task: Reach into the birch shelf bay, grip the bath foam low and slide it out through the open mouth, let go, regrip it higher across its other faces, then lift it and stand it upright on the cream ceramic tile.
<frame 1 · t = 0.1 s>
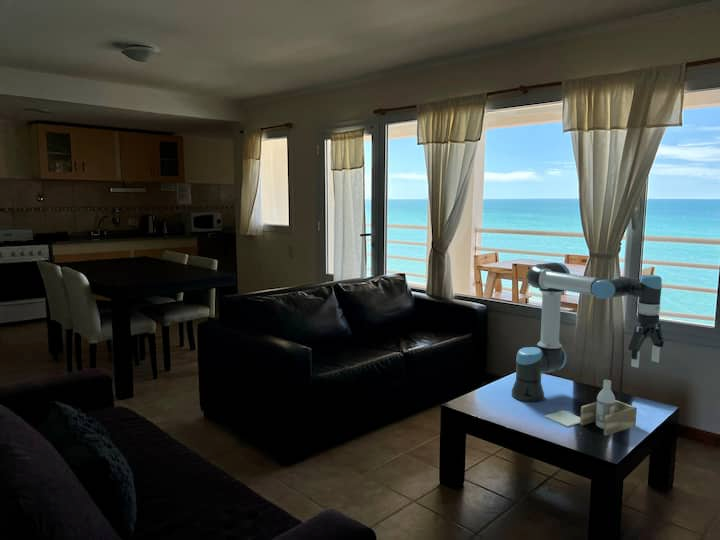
hand: (645, 364, 210), 28 cm above the table, fingers open, 13 cm apart
shelf bay: (606, 425, 217), on the table
tile: (565, 419, 224), on the table
bath foam: (604, 426, 217), on the table
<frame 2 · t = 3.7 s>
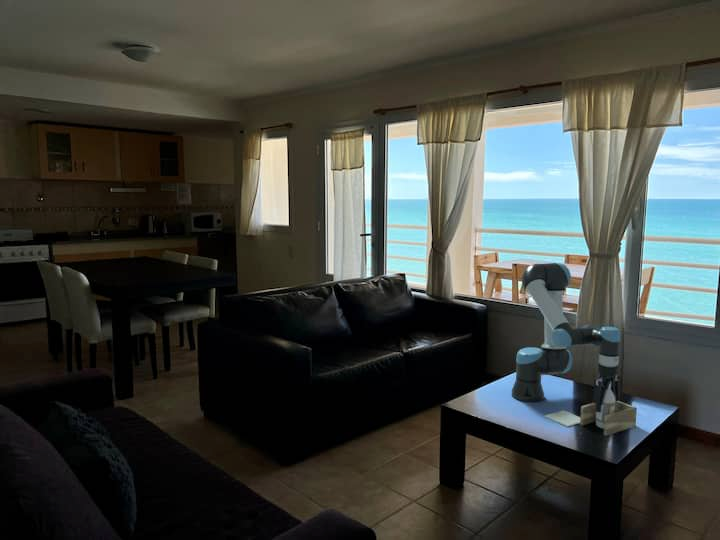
hand: (605, 416, 216), 4 cm above the table, fingers closed on bath foam, 7 cm apart
bath foam: (604, 426, 217), on the table, touching gripper
when the fingers open (5 cm above the table, at t = 6.6 s): bath foam stays where it is, on the table.
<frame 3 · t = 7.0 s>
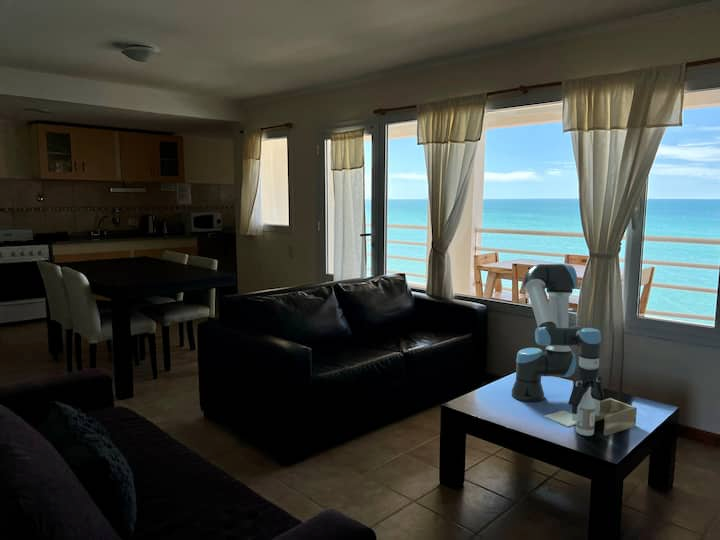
hand: (585, 417, 210), 6 cm above the table, fingers open, 12 cm apart
bath foam: (584, 433, 211), on the table
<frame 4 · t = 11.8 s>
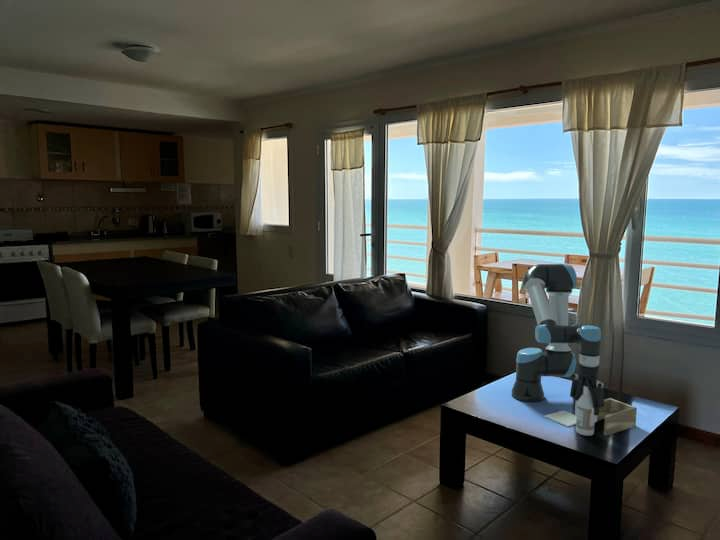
hand: (585, 418, 210), 6 cm above the table, fingers closed on bath foam, 7 cm apart
bath foam: (584, 432, 211), on the table, touching gripper
when the fingers open (7 cm above the table, at t = 17.2 s): bath foam stays where it is, resting on tile.
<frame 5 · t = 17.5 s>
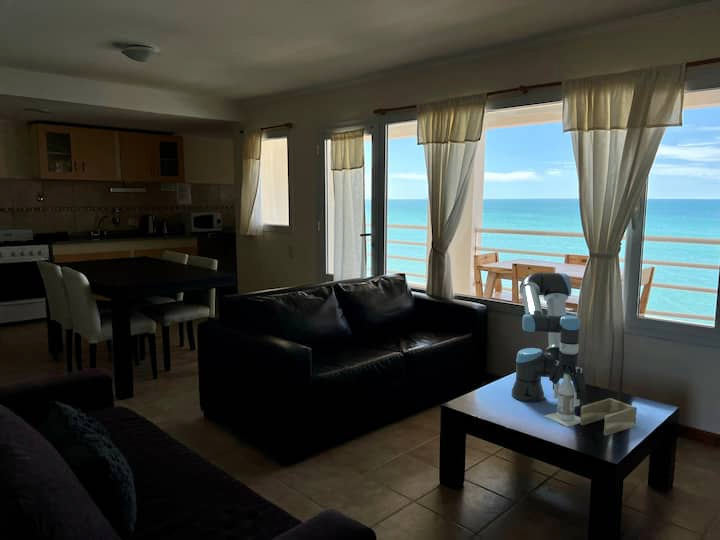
hand: (566, 401, 223), 8 cm above the table, fingers open, 10 cm apart
bath foam: (565, 418, 224), resting on tile
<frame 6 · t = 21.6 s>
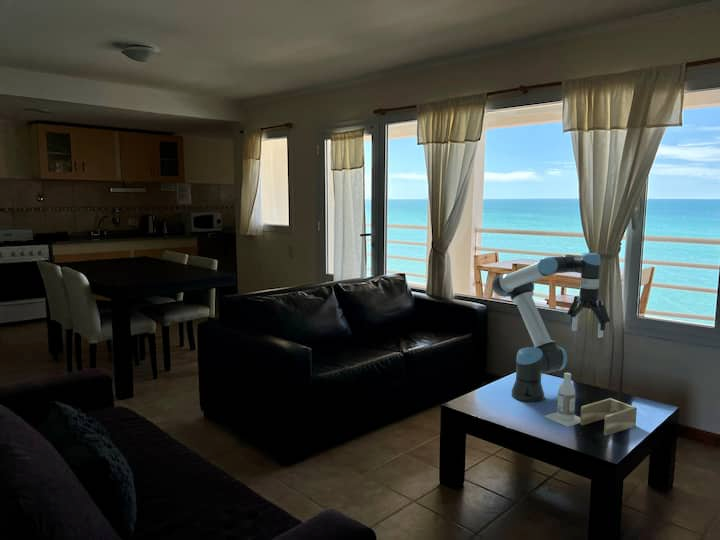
hand: (586, 333, 232), 35 cm above the table, fingers open, 13 cm apart
nothing on the table moved.
at the end: bath foam inside the target area on the tile (0.0 cm from its centre), point 0.4 cm above the tile's base; bath foam tilted 0°; the gripper is holding nothing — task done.
